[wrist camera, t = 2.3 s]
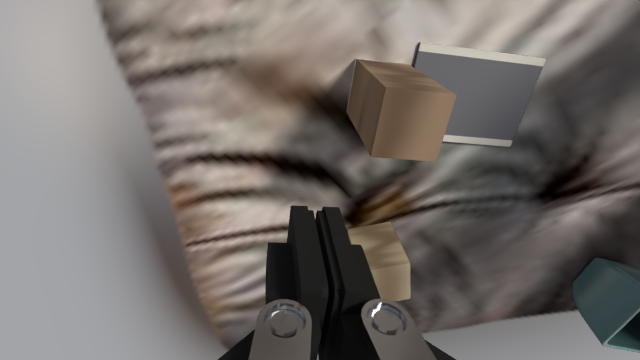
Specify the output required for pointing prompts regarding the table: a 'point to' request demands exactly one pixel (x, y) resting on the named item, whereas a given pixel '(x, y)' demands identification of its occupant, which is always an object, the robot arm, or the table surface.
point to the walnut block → (398, 110)
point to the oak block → (384, 259)
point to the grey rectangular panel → (481, 90)
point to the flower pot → (610, 302)
